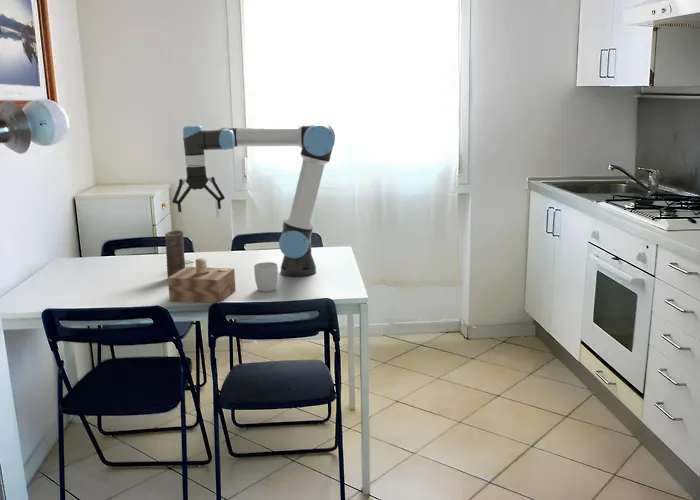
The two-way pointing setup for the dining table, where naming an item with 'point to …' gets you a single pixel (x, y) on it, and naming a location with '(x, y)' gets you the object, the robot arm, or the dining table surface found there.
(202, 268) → the beech dowel
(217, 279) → the socket block
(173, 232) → the brown cylindrical vase
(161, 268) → the dining table surface
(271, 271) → the mug
